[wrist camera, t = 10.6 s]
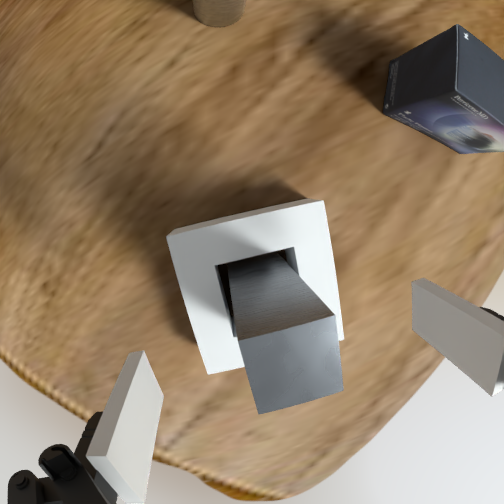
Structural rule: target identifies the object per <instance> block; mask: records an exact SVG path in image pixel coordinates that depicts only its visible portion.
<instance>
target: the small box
mask: <svg viewBox="0 0 504 504" xmlns="http://www.w3.org/2000/svg"><path fill="white" fill-rule="evenodd" d="M383 114H384V115H386V116H389V117H391V118H393V119H395V120H397V121H399V122H401V123H403V124H406V125H408V126H410V127H412V128H414V129H416V130H418V131H420V132H422V133H423V134H426V135H427V136H429V137H431V138H433V139H435V140H437V141H438V142H440V143H442V144H444V145H446V146H447V147H449V148H451V149H453V150H454V151H456V152H458V153H459V154H468V153H486V152H504V60H503V59H502V58H500V57H499V56H498V55H497V54H496V53H495V52H493V51H492V50H491V49H490V48H489V47H487V46H486V45H485V44H484V43H482V42H481V41H480V40H479V39H477V38H476V37H475V36H474V35H472V34H471V33H470V32H468V31H467V30H466V29H464V28H463V27H462V26H460V25H459V24H456V25H454V26H453V27H451V28H450V29H448V30H446V31H444V32H442V33H440V34H439V35H437V36H435V37H433V38H431V39H429V40H428V41H426V42H424V43H423V44H421V45H419V46H417V47H415V48H413V49H412V50H410V51H408V52H407V53H405V54H403V55H401V56H399V57H398V58H396V59H393V60H391V61H390V64H389V76H388V83H387V88H386V95H385V97H384V108H383Z"/></svg>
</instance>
